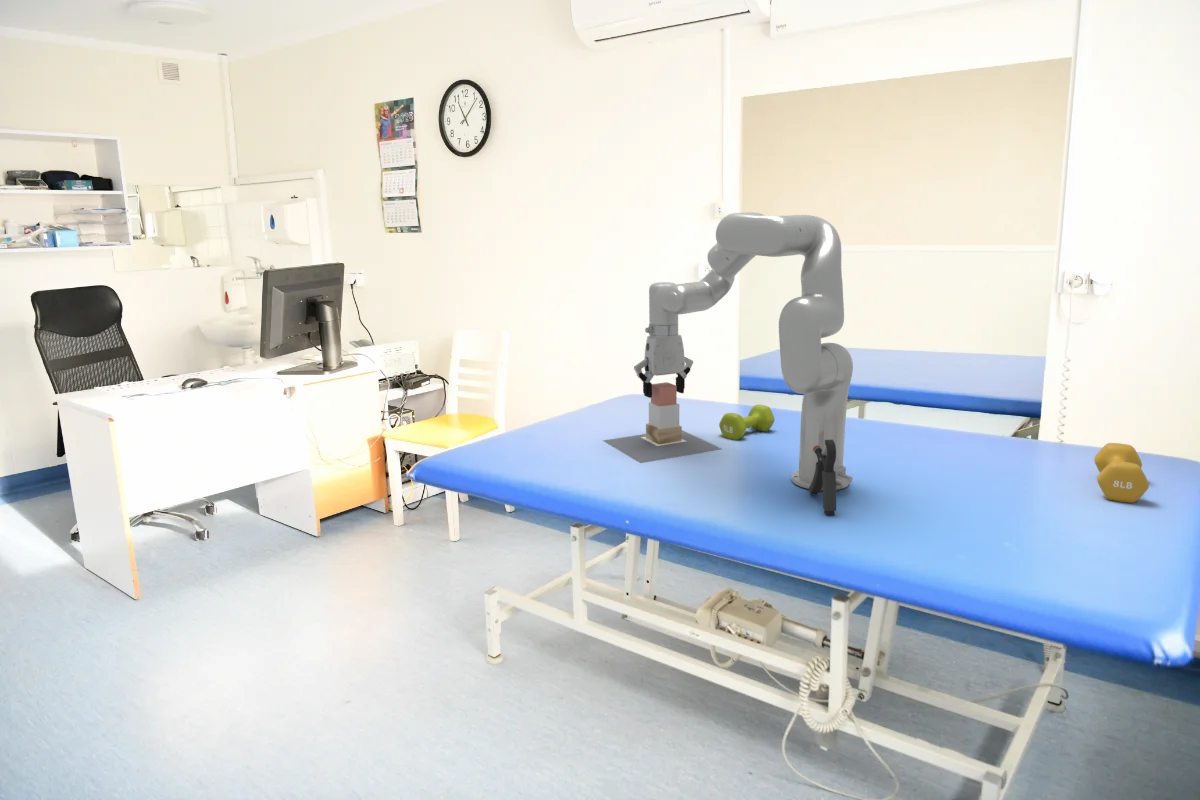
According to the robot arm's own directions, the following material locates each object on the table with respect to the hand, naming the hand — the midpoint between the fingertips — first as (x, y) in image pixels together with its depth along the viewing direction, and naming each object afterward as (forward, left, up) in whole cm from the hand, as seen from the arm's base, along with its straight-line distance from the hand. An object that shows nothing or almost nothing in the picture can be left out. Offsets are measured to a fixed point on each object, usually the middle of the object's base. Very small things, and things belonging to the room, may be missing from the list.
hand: (664, 394), depth 206 cm
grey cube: (0, 0, -8) cm, 8 cm away
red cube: (0, 0, -2) cm, 2 cm away
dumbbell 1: (-5, -23, -13) cm, 27 cm away
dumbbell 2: (-78, -68, -13) cm, 104 cm away
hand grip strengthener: (-56, -6, -13) cm, 58 cm away
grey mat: (-4, +3, -13) cm, 14 cm away
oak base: (0, 0, -12) cm, 12 cm away
